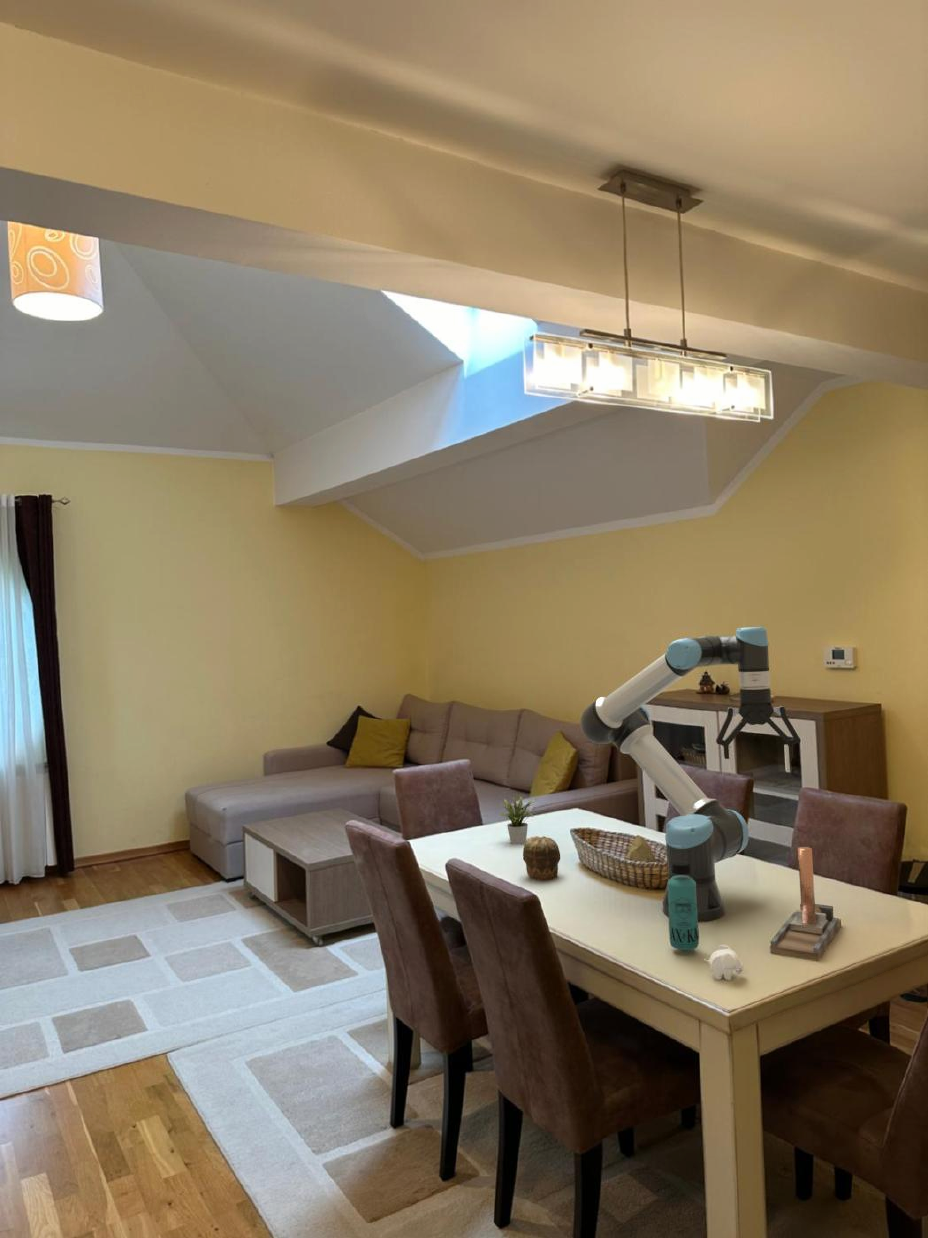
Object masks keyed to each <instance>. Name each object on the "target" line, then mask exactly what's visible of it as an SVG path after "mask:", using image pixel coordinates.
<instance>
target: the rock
mask: <svg viewBox="0 0 928 1238" xmlns="http://www.w3.org/2000/svg"><path fill="white" fill-rule="evenodd" d="M625 857H626V858H628V859H632V860H637V861H647V862H656V863H657V861H656V857H655V855H654V852H653V850H652V848H651V846H650V845H649V844H648V842H647V841H646V839H645V837H643V836H641V835H639V834H637V835H635V838H634V839H633V841H632V843H631V845H630V847H629V848H628V852H627V854H625Z"/></svg>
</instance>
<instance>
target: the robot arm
mask: <svg viewBox="0 0 928 1238" xmlns="http://www.w3.org/2000/svg"><path fill="white" fill-rule="evenodd" d="M769 645H770V644H769V641H768V632H767V629H766V628H765V627H764V626H763V627H762V626H756V627H755V626H753V627H751V626H750V627H749V626H748V627H739V628H737V629H736V632H735V634H734V635H705V636H699V637H692V638H690V637H689V638H688V637H684V638H679V639H676V640H673V641H672V642H671V643H669V645H668V647H667V649H666V652H665V653H664V654H662V656H660V657H659V658H657V659H656V660H655V661H653V662H652V663H651V664H649V665H648V666H646V667H645V668H644V669H642V670H641V671H640V672H638V673H637V674H635V676H633V677H631V679H629V680H627V681H626V682H625V683H624V684H622V685H620V686H619V687H618V688H617V689H615V690H614V691H613V692H611V693H610V694H609V695H607V696H601V697H599V698H597V699H596V700H595V701H593V702H592V703H590V704H589V705H588V706H587V707H586V708H585V709H584V710H583V712H582V713H581V716H580V718H579V726H580V730H581V732H582V734H583V736H584V737H585V739H587V740H589V742H592V743H594V744H597V745H605V744H607V745H608V744H612V743H613V745H614V746H615V747H616V748H617V749H618V750H619V751H620V753H622V754H625V755H629V756H630V757H631V758H632V759H633V760H634V762H636V764H637V765H638V766H639V767H640V769H641V770H642V771H643V772H644V773H645V774H646V775H647V776H648V778H649V779H650V780H651V781H652V783H653V784H654V785H655V786H656V788H657V789H658V790H659V791H660V792H661V793H662V795H663V796H664V797H665V798H666V799H667V800H668V802H670V804H671V805H672V806H673V808H674V809H675V810H676V811H677V812H678V813H679V815H680V816H679V815H678V816H675V817H673V818H671V819H670V820H669V821H668V822H667V823H666V826H665V837H664V838H665V847H666V861H667V863H666V865H667V876H668V877H667V878H668V881H669V880H670V879H671V878H672V877H673V876H677V875H684V876H689V877H691V878H692V879H693V880H694V881H695V882H696V899H697V908H698V909H697V917H698V922H707V921H712V920H717V919H719V918H721V917H722V916H724V914H725V903H724V900H723V897H722V895H721V892H720V890H719V887H718V884H717V882H716V867H715V864H716V863H719V862H721V861H724V860H727V859H729V858H730V859H731V858H734V857H735V856H737V855H738V854H740V853H742V851H743V850H745V848H746V847H747V845H748V842H749V838H750V837H749V827H748V824H747V822H746V820H745V819H744V817H743V815H741V814H740V813H739V812H737V811H735V810H732V809H728V808H727V809H726V808H725V807H724V806H723V805H722V804H721V803H720V801H719V800H717V799H716V798H709V797H707V795H706V793H704V792H703V790H701V789H700V787H699V786H698V785H697V784H696V783H695V782H694V781H693V779H692V778H691V777H690V776H689V774H687V773H686V772H685V771H686V770H684V769H683V767H681V766H680V764H679V763H678V762H677V760H676V759H674V757H672V755H671V754H670V753H669V752H668V750H667V749H666V748H665V747H664V746H663V745H662V743H660V742H659V740H658V739H657V738H656V737H655V736H654V735H653V732H654V727H653V726H652V725H651V719H650V714H649V712H648V710H647V708H646V706H645V705H646V704H647V703H649V702H650V701H651V700H653V699H654V698H656V697H657V696H658V695H660V694H661V693H663V692H664V691H665V690H667V689H668V688H669V687H671V686H672V685H673V684H675V683H676V682H678V681H679V680H680V679H682V678H684V676H687V675H688V674H689V673H691V672H692V671H694V670H695V669H697V668H702V667H711V666H717V665H718V666H719V665H721V666H723V665H726V666H727V665H737V671H738V672H737V673H738V686H739V687H740V688H739V689H740V690H739V707H737V708H736V707H732V706H729V707H728V708H727V714H726V717H725V719H724V722H723V724H722V726H721V729H720V730H719V733H718V735H717V737H716V739H715V742H716V744H717V745H720V746H722V747H723V756H724V757H723V758H724V759H725V760H728V765H729V766H728V768H729V769H728V770H729V773H732V774H733V773H734V767H733V765H734V763H733V747H732V745H731V743H732V742H733V741H734V739H735V738H736V737H737V735H739V733H740V732H741V731H742V730H743V728H744V727H745V726H746V725H750V726H754V725H755V726H756V725H759V726H763V725H765V724H768V725H769V726H770V727H771V728H772V729H773V730H774V731H775V732H776V733H777V734H778V735H779V737H781V738H782V740H783V741H784V742H785V743H786V744H784V745H783V747H784V764H785V766H784V767H785V769H784V770H785V772H786V773H791V767H790V766H791V765H790V759H794V756H795V755H794V754H795V753H794V746H795V745H796V744H799V743H801V738H800V736H799V735H798V733H797V731H796V730H795V728H794V726H793V724H792V723H791V721H790V719H789V717H787V712H786V708H785V707H784V705H780V706H775V707H773V705H772V695H771V694H772V693H771V692H772V691H771V690H772V689H771V688H770V686H771V679H770V678H771V675H770V665H769V664H770V663H769V662H770V661H769V660H770V659H769V658H770V657H769ZM774 713H776V715H777V716H780V718H781V720H782V721H783V723H784V725H785V726H786V728H787V730H788V732H789V733H790V735H791V736H792V738H790V737H789V736H787V734H786V733H785V732H784V731H783V730H782V729H781V728H780V727H779V725H777V724H776V723H775V722H774V720H773V719H771V717H772V715H773V714H774ZM737 714H739V715H740V716H741V720H739V722H738V723H737V725H736V726H735V727H734V729H733V730H732V731H731V732H730V734H728V736H726V732H727V731H728V729H729V727H730V725H731V722H732V720H733V717H736V715H737ZM725 736H726V738H725V739H724V737H725ZM676 861H685V862H688V863H689V864H690V869H691V873H689V874H675V873H672V863H673V862H676ZM668 881H667V882H668ZM668 908H669V901H668V884H667V883H666V887H665V892H664V895H663V899H662V912H663V914H664V915H666V916H668V914H669V909H668Z"/></svg>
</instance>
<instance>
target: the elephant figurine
mask: <svg viewBox="0 0 928 1238" xmlns="http://www.w3.org/2000/svg"><path fill="white" fill-rule="evenodd" d="M704 961H706V962H708V963H709V968H710V971H711V973H712V976H713V978H714V979H715V980H716V981H719V980H721V979H722V976H723V978H724V980H727V981H731V980H732V975H733V971H735V973H736V974H737V975H741V974H742V973H743V972H744V965H743V963H742V961H741V960H740V959H739V957H738V954H737V953H736V952H735V951H734V950H732V949H731V948H730V947H729V946H728V945H727V944H720V945H719V946H718V948H717V950H715V951H713V953H711V955H710V957H709V959H708V960H707V959H705V958H704Z"/></svg>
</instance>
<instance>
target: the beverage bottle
mask: <svg viewBox="0 0 928 1238" xmlns="http://www.w3.org/2000/svg"><path fill="white" fill-rule="evenodd" d="M672 873H675V874H689V873H691V869H690V864H689V863H688V862H685V861H676V862H673V863H672ZM667 884H668V901H669V908H668V909H669V914H668V915H667V918H668V931H669V937H668V938H669V943H670V946H671V947H672V948H674V949H676V950H681V951H693V950H695V949H697V948H698V947H699V944H700V934H699V933H700V931H699V921H698V917H697V909H698V908H697V899H696V882H695V881H694V880H693V879H692V878H691V877H689V876H684V875H677V876H673V877H672V878H671V879H670V880H669V881H667V883H666V885H667Z"/></svg>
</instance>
